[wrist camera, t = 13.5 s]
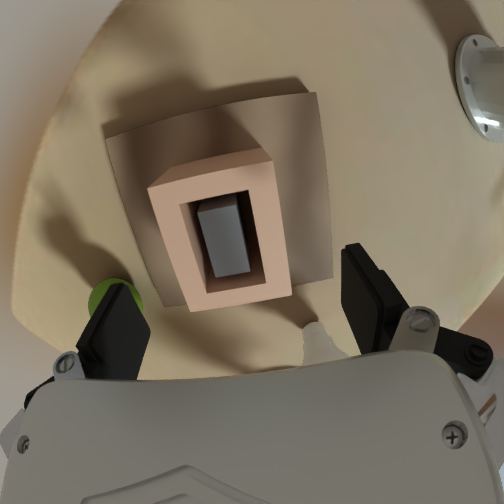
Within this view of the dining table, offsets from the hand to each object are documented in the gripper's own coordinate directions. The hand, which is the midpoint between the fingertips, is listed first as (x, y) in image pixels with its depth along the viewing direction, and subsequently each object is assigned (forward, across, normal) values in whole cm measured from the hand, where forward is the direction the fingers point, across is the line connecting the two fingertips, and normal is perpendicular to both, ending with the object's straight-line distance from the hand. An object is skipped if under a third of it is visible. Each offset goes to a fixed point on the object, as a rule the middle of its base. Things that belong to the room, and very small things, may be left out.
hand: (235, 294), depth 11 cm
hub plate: (+12, +1, 0) cm, 12 cm away
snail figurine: (+12, +13, +6) cm, 19 cm away
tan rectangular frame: (+11, +1, 0) cm, 11 cm away
